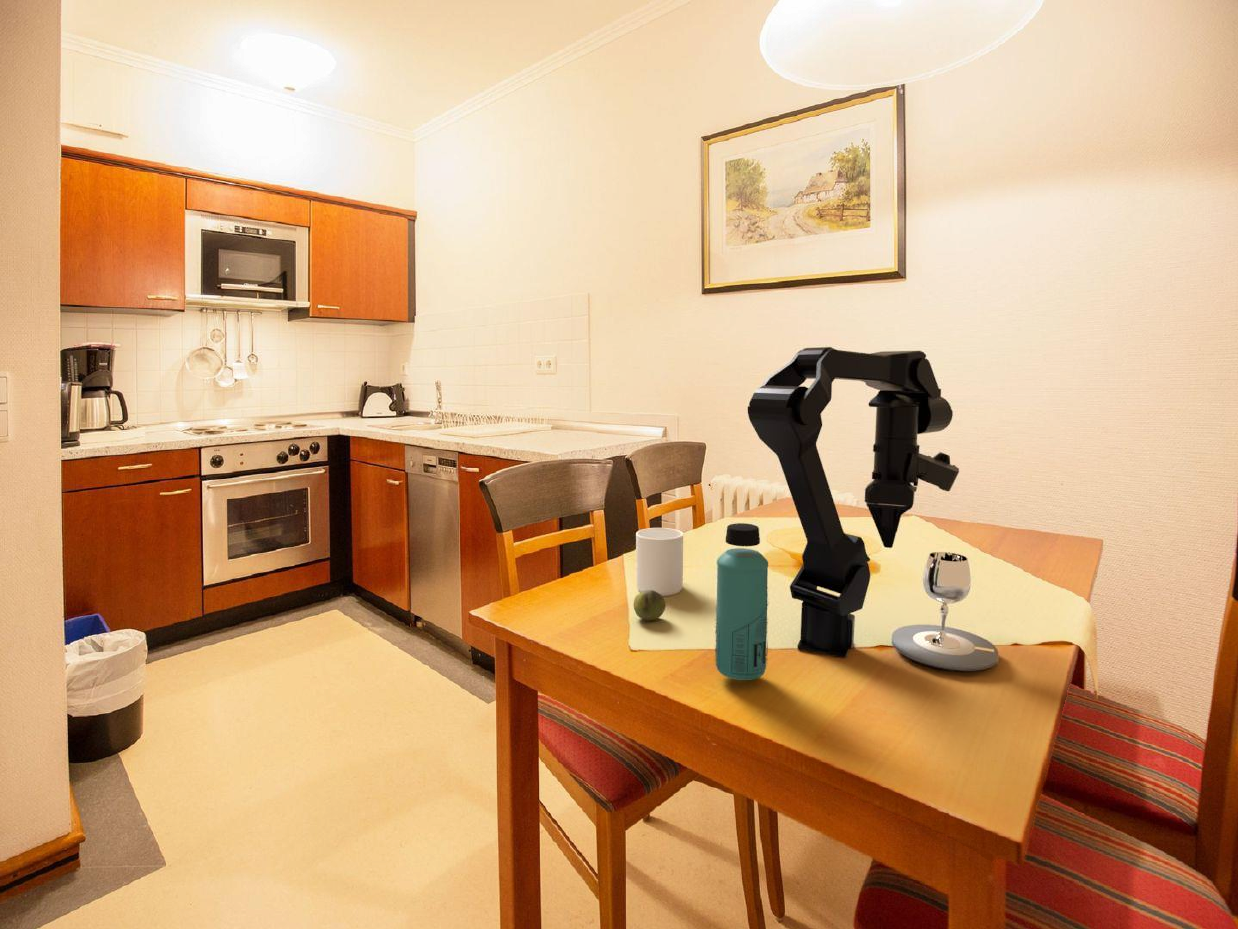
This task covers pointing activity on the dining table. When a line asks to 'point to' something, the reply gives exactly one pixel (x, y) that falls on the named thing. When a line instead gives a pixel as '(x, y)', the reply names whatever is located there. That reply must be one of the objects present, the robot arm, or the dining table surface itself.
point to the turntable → (965, 657)
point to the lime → (649, 605)
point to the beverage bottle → (741, 606)
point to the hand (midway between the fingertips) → (890, 539)
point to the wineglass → (946, 588)
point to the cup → (659, 560)
